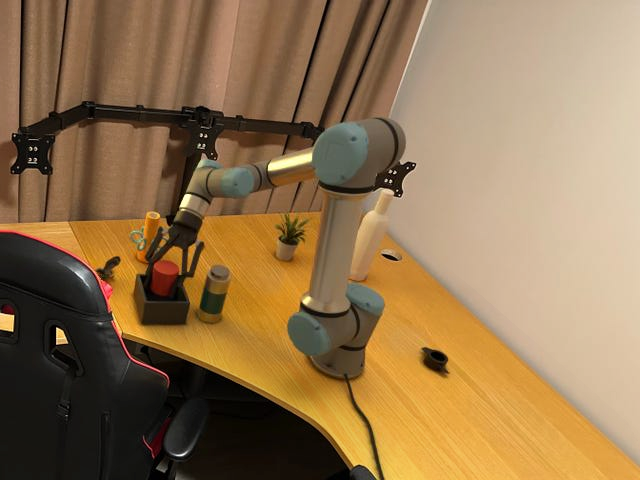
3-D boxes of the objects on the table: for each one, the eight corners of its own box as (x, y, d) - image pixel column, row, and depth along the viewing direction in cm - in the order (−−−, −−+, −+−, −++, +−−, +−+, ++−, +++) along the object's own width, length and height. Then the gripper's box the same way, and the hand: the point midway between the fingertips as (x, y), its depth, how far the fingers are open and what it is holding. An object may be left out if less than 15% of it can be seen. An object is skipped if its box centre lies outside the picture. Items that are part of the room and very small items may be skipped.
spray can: (222, 323, 178) (235, 277, 168) (200, 323, 177) (211, 277, 167) (216, 308, 183) (228, 263, 173) (194, 308, 181) (205, 263, 171)
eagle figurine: (121, 285, 182) (126, 264, 188) (109, 268, 178) (114, 246, 183) (98, 291, 185) (104, 270, 191) (86, 274, 181) (92, 253, 186)
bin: (185, 324, 175) (190, 303, 170) (141, 324, 172) (144, 302, 167) (175, 294, 185) (179, 274, 180) (133, 294, 182) (136, 273, 177)
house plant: (254, 259, 207) (267, 215, 196) (262, 240, 217) (275, 197, 206) (297, 272, 205) (312, 228, 194) (303, 252, 215) (318, 209, 204)
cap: (177, 296, 172) (181, 274, 168) (152, 295, 171) (156, 274, 166) (172, 281, 177) (176, 260, 173) (148, 281, 176) (152, 259, 171)
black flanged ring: (421, 371, 175) (425, 363, 173) (418, 349, 183) (422, 342, 181) (448, 378, 175) (453, 371, 173) (445, 356, 182) (449, 349, 180)
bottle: (364, 270, 212) (399, 187, 193) (367, 283, 206) (404, 199, 187) (340, 265, 212) (373, 182, 192) (343, 278, 206) (377, 194, 187)
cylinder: (123, 249, 199) (129, 206, 190) (153, 246, 203) (160, 203, 194) (138, 270, 191) (144, 227, 182) (169, 267, 196) (177, 224, 186)
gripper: (225, 232, 174) (193, 308, 173) (160, 208, 178) (128, 283, 177) (223, 222, 166) (189, 302, 165) (155, 198, 171) (121, 276, 169)
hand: (157, 292), depth 171 cm, fingers closed on cap, 7 cm apart
